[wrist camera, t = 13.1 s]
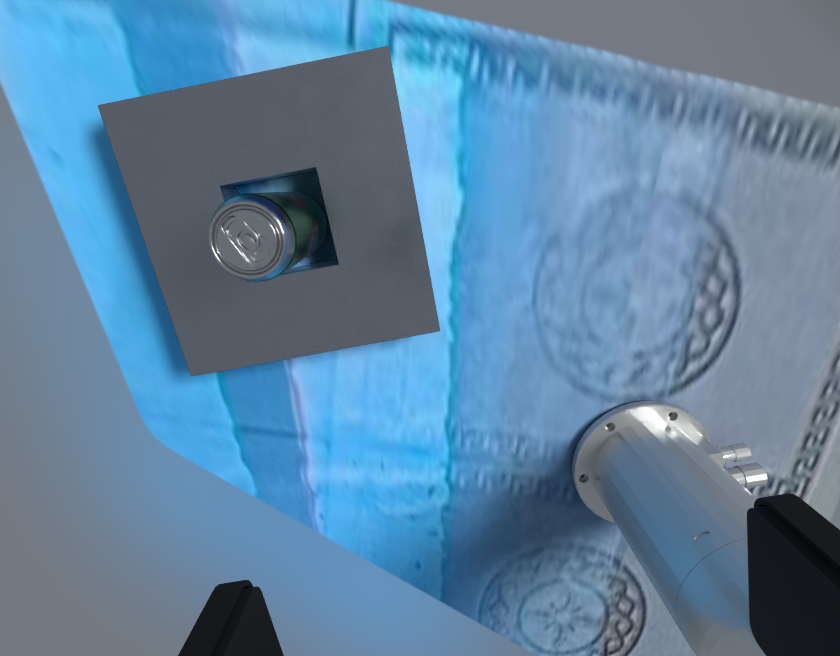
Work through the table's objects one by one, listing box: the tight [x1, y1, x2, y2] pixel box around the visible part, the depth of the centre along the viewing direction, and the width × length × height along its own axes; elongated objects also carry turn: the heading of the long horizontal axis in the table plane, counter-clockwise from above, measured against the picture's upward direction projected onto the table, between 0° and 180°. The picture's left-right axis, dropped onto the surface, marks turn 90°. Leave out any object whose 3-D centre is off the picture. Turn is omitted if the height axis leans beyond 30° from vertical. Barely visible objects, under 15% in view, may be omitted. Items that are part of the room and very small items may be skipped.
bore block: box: [98, 46, 440, 376], centre depth 37 cm, size 20×20×4 cm
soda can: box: [208, 191, 327, 282], centre depth 33 cm, size 5×5×12 cm
